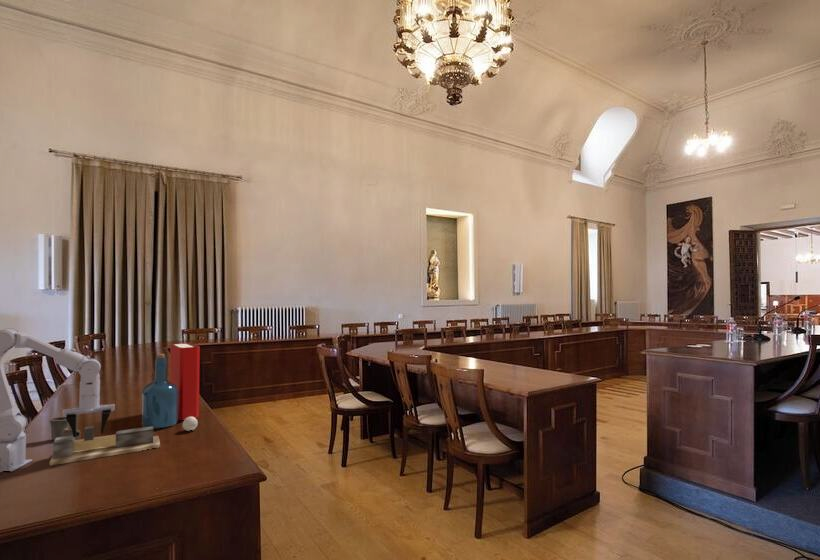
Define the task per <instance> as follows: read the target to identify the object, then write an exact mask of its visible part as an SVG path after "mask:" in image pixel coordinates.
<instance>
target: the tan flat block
mask: <svg viewBox="0 0 820 560" xmlns="http://www.w3.org/2000/svg"><path fill="white" fill-rule="evenodd" d="M83 432H84V433H83V435H84V436H83V439H82V438H79V439H77V440H73V452H74V451H81V450H87V449H94V448H100V447H107V446H114V445H116V433H115V434H110V435H109V434H108V435H102V436H95V426H94V425H92V426H85V427H84V430H83Z"/></svg>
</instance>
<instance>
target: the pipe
mask: <svg viewBox="0 0 820 560" xmlns="http://www.w3.org/2000/svg"><path fill="white" fill-rule="evenodd" d="M66 417H67V416H64V417H62V416H58V417H52V418H50V419H49V423H50V429H51V431H50V432H51V439H52V440H53V441H55V439H56V437H63V436H71V435H73V432H72V429H69V428H70V425H69V423H68V421H67V420H66ZM76 430H77V434H76V437H75V440H80V439H81V434H82V433H81V431H80V430H78V429H76Z"/></svg>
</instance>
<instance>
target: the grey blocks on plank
mask: <svg viewBox="0 0 820 560" xmlns="http://www.w3.org/2000/svg"><path fill="white" fill-rule="evenodd" d="M154 430H155V429H153V426H150V427H143V426H142V427H138V428H137V427H136V428H130V429H123V430H116V433H115V434H116V445H114V446H107V447H100V448H94V449H87V450H81V451H74V452H73V440H75V437H73V435H71V436H63V437H56V439H55V440H53V444H52V445H53V446H52V457H51V459H50V461H49V466H50V467H51V466H55V465H60V464H61V465H62V464H68V463H73V462H74V463H76V462H81V461H87V460H92V459H98V458H99V459H101V458H105V457H111V456H112V457H113V456H117V455H118V456H119V455H123V454H129V453H135V452H143V451H148V450H147V449H149V450H153V449H152V448H156V449H160V448H161V442H160V441H161V440H160V438H159V435H155V436H154ZM159 447H160V448H159ZM142 450H143V451H142Z"/></svg>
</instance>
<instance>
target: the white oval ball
mask: <svg viewBox="0 0 820 560" xmlns="http://www.w3.org/2000/svg"><path fill="white" fill-rule="evenodd" d="M199 423H201V421H199V422H198V419H196V418H195V417H192V416H191V417H187V418H186V419H185V420H184V421H182V424H181V425H182V428H183V430H184V431H187V432H191V431H190V430H192V431H194V430H195V429H196V428H197V427H198V424H199Z"/></svg>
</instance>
